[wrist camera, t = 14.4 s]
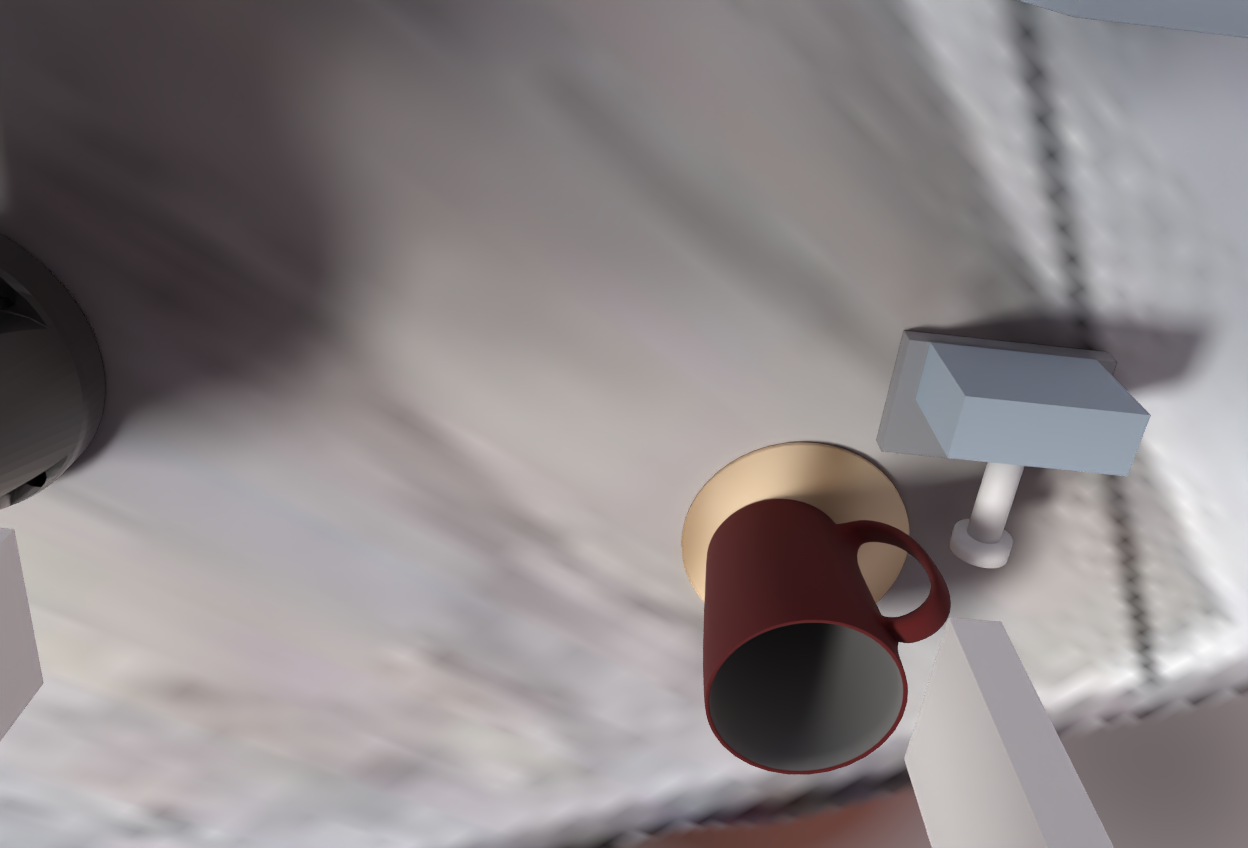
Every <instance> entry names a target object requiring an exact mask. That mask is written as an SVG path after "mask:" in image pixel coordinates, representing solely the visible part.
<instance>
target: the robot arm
mask: <svg viewBox="0 0 1248 848" xmlns="http://www.w3.org/2000/svg"><path fill="white" fill-rule="evenodd" d="M104 402H105V376H104V369H103V363H102V359H101V355H100V351H99V348H98V345H97V343H96V340H95V337H94V335H93V333H92V330H91V328H90V326H89V324H88V322H87V320H86V319H85V317H84V315H83V313H82V312H81V310H80V308H79V307H78V305H77V304H76V302H75V301H74V300H73V298H72V297H71V296H70V294H69V293H68V292H67V290H66V289H65V288H64V287H63V286H62V284H61V283H60V282H59V281H58V280H57V279H56V278H55V277H54V276H53V275H52V274H51V273H50V271H49V270H48V269H46V268H45V267H44V266H43V265H42V264H41V263H40V262H39V261H38V260H37V259H35V258H34V257H33V256H32V255H30V254H29V253H28V252H27V251H25V250H24V249H22V248H21V247H20V246H18V245H17V244H16V243H14V242H12V241H11V240H9V239H8V238H6V237H5V236H3V235H1V234H0V509H3V508H6V507H8V506H11V505H13V504H16V503H19V502H21V501H23V500H25V499H28V498H30V497H32V496H34V495H35V494H37V493H39V492H40V491H42V490H43V489H45V488H46V487H48V486H49V485H50V484H52V483H53V482H54V481H55V480H56V479H58V478H59V477H60V476H61V475H62V474H63V473H64V472H65V471H66V470H67V469H68V468H69V467H70V466H71V465H72V464H73V463H74V461H75V460H76V459H77V458H78V457H79V456H80V455H81V454H82V453H83V452H84V451H85V449H86V448H87V447H88V445H89V444H90V442H91V441H92V439H93V437H94V435H95V433H96V431H97V429H98V426H99V424H100V421H101V417H102V413H103V408H104ZM42 684H43V678H42V672H41V667H40V662H39V657H38V651H37V646H36V641H35V636H34V630H33V625H32V620H31V615H30V610H29V604H28V599H27V594H26V589H25V583H24V578H23V573H22V568H21V562H20V557H19V552H18V547H17V541H16V536H15V531H14V529H8V528H0V741H1V740H2V738H3V737H4V736H5V734H6V733H7V732H8V730H9V729H10V727H11V726H12V725H13V723H14V722H15V721H16V719H17V718H18V717H19V715H20V714H21V713H22V711H23V710H24V709H25V707H26V706H27V705H28V703H29V702H30V701H31V699H32V698H33V696H34V695H35V694H36V692H37V691H38V690H39V688H40V687H41V686H42ZM904 760H905V763H906V766H907V769H908V772H909V776H910V779H911V782H912V785H913V789H914V792H915V795H916V798H917V801H918V805H919V808H920V811H921V814H922V818H923V821H924V824H925V827H926V831H927V834H928V837H929V840H930V844H931V847H932V848H1114V847H1113V845H1112V843H1111V841H1110V839H1109V837H1108V835H1107V833H1106V831H1105V829H1104V827H1103V825H1102V823H1101V821H1100V819H1099V817H1098V815H1097V813H1096V811H1095V809H1094V807H1093V805H1092V803H1091V801H1090V799H1089V797H1088V795H1087V793H1086V791H1085V789H1084V787H1083V785H1082V783H1081V781H1080V779H1079V777H1078V775H1077V773H1076V771H1075V769H1074V767H1073V765H1072V763H1071V761H1070V759H1069V757H1068V755H1067V753H1066V751H1065V749H1064V747H1063V745H1062V743H1061V741H1060V739H1059V737H1058V735H1057V733H1056V731H1055V729H1054V727H1053V725H1052V723H1051V721H1050V719H1049V717H1048V715H1047V713H1046V711H1045V709H1044V707H1043V705H1042V703H1041V701H1040V699H1039V697H1038V695H1037V693H1036V691H1035V689H1034V687H1033V685H1032V683H1031V681H1030V679H1029V677H1028V675H1027V673H1026V671H1025V668H1024V666H1023V664H1022V662H1021V660H1020V658H1019V656H1018V654H1017V652H1016V650H1015V648H1014V646H1013V644H1012V642H1011V640H1010V638H1009V636H1008V634H1007V632H1006V630H1005V628H1004V626H1003V624H1002V622H996V621H986V620H975V619H964V618H954V617H949V618H948V621H947V625H946V628H945V631H944V634H943V637H942V640H941V644H940V647H939V650H938V653H937V656H936V660H935V663H934V666H933V669H932V672H931V675H930V679H929V682H928V685H927V688H926V691H925V695H924V698H923V701H922V704H921V707H920V710H919V714H918V717H917V720H916V723H915V726H914V729H913V733H912V736H911V739H910V742H909V745H908V749H907V752H906V755H905V758H904Z"/></svg>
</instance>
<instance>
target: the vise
mask: <svg viewBox="0 0 1248 848" xmlns="http://www.w3.org/2000/svg"><path fill="white" fill-rule="evenodd" d="M1016 1H1022V2H1025V3H1029V4H1032V5H1036V6H1039V7H1042V8H1046V9H1049V10H1052V11H1056V12H1059V13H1062V14H1066V15H1069V16H1073V17H1078V18H1086V19H1094V20H1103V21H1111V22H1120V23H1128V24H1136V25H1145V26H1153V27H1161V28H1170V29H1178V30H1187V31H1195V32H1203V33H1212V34H1220V35H1228V36H1237V37H1245V38H1248V0H1016ZM1116 364H1117V361H1116V360H1115V359H1114V358H1113V357H1112V356H1111V355H1110V354H1109V353H1108V352H1103V351H1093V350H1084V349H1074V348H1065V347H1055V346H1046V345H1037V344H1027V343H1018V342H1008V341H999V340H989V339H980V338H970V337H961V336H951V335H942V334H932V333H923V332H914V331H903V335H902V339H901V343H900V347H899V351H898V355H897V359H896V363H895V367H894V371H893V375H892V379H891V383H890V387H889V391H888V395H887V399H886V403H885V407H884V411H883V415H882V419H881V423H880V427H879V431H878V435H877V439H876V440H877V443H878V445H879V447H880V450H881V451H882V452H891V453H901V454H911V455H921V456H931V457H941V458H951V459H961V460H971V461H981V462H988V463H987V466H986V469H985V472H984V476H983V479H982V482H981V485H980V489H979V492H978V495H977V498H976V501H975V505H974V508H973V511H972V514H971V518H970V519H963V520H960V521H958V522H957V523H956V524H955V526H954V529H953V532H952V535H951V539H950V542H949V547H950V550H951V551H952V552H953V554H954V555H955V556H957V557H958V558H959V559H961V560H963V561H964V562H966V563H969V564H971V565H974V566H978V567H982V568H999V567H1002V566H1004V565H1005V564H1006V563H1007V560H1008V557H1009V554H1010V551H1011V549H1012V546H1013V539H1012V537H1011V535H1010V534H1009V533H1008V532H1007V531H1006V530H1004V527H1005V524H1006V521H1007V518H1008V515H1009V512H1010V509H1011V506H1012V503H1013V500H1014V497H1015V494H1016V491H1017V488H1018V485H1019V482H1020V478H1021V475H1022V472H1023V469H1024V466H1031V467H1041V468H1050V469H1060V470H1070V471H1081V472H1091V473H1101V474H1111V475H1121V476H1128V473H1129V471H1130V468H1131V465H1132V463H1133V460H1134V457H1135V455H1136V452H1137V450H1138V447H1139V444H1140V442H1141V439H1142V437H1143V434H1144V431H1145V429H1146V426H1147V424H1148V421H1149V418H1150V416H1151V415H1150V414H1149V413H1148V412H1147V411H1146V410H1145V409H1144V408H1143V407H1142V406H1141V405H1140V404H1139V403H1138V402H1137V401H1136V400H1135V399H1134V398H1133V397H1132V396H1131V395H1130V394H1129V393H1128V392H1127V390H1126V389H1125V388H1124V387H1123V386H1122V385H1121V384H1120V383H1119V382H1118V381H1117V380H1116V379H1115V378H1114V377H1113V376H1112V375H1113V372H1114V370H1115V367H1116Z"/></svg>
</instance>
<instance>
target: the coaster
mask: <svg viewBox="0 0 1248 848" xmlns="http://www.w3.org/2000/svg"><path fill="white" fill-rule="evenodd" d="M770 499H790V500H797V501H801V502H804V503H807V504H810V505H812V506H814V507H816V508H818V509H820V510H821V511H823V512H824V513H825V514H827V515H828V516H829V517H830V518H831V519H832V520H833V521H834V522H835V524H841V523H847V522H852V521H858V520H871V521H877V522H882V523H885V524H888V525H891V526H893V527H895V528H897V529H899V530H901V531H903V532H904V533H906V534H907V535H909V534H910V530H909V522H908V517H907V513H906V510H905V506H904V504H903V502H902V500H901V498H900V495H899V493H898V491H897V490H896V488H895V487H894V485H893V484H892V482H891V481H890V480H889V479H888V478H887V476H886V475H885V474H884V473H883V472H882V471H881V470H880V469H878V468H877V467H876V466H875V465H873V464H872V463H871V462H869V461H868V460H866V459H864V458H863V457H861V456H859V455H857V454H855V453H853V452H850V451H848V450H846V449H842V448H839V447H835V446H832V445H827V444H820V443H809V442H795V443H784V444H778V445H773V446H768V447H765V448H762V449H759V450H756V451H753V452H751V453H748V454H746V455H744V456H742V457H740V458H738V459H736V460H735V461H733V462H731V463H729V464H728V465H726V466H725V467H724V468H723V469H721V470H720V471H719V472H717V473H716V474H715V475H714V476H713V477H712V478H711V479H710V480H709V481H708V482H707V483H706V484H705V485H704V486H703V488H702V489H701V490H700V492H699V493H698V494H697V496H696V497H695V499H694V501H693V503H692V504H691V506H690V508H689V511H688V513H687V516H686V519H685V523H684V527H683V532H682V554H683V562H684V566H685V570H686V573H687V575H688V578H689V580H690V583H691V584H692V586H693V588H694V589H695V591H696V593H697V594H698V595H699V596H700V598H701V599H702V600H703V601H704V602H705V579H706V560H707V551H708V547H709V544H710V541H711V539H712V537H713V535H714V533H715V531H716V530H717V528H718V527H719V526H720V525H721V524H722V523H723V522H724V521H725V520H726V519H727V518H728V517H729V516H730V515H732V514H733V513H735V512H736V511H738V510H739V509H741V508H743V507H745V506H748V505H750V504H753V503H756V502H759V501H764V500H770ZM906 556H907V552H906V551H904V550H903V549H901V548H899V547H896V546H893V545H890V544H886V543H880V542H868V543H864V544H862V545H861V546H860V548H859V550H858V554H857V560H858V565H859V568H860V571H861V573H862V575H863V578H864V580H865V582H866V584H867V586H868V588H869V590H870V592H871V594H872V596H873V598H874V601H875V603H876V602H878V601H879V600H880V599H881V598H882V597H883V596H884V594H885V593H886V592H887V591H888V590H889V589H890V587H891V586H892V585H893V583H894V582H895V580H896V579H897V577H898V575H899V573H900V571H901V569H902V567H903V565H904V562H905V559H906Z"/></svg>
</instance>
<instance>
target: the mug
mask: <svg viewBox="0 0 1248 848" xmlns="http://www.w3.org/2000/svg"><path fill="white" fill-rule="evenodd" d="M868 542H880V543H886V544H890V545H893V546H896V547H899V548H901V549H903V550H904V551H906V552H908V553H909V554H911V555H912V556H913V557H915V558H916V559H917V560H918V561H919V562H920V563H921V564H922V566H923V567H924V568H925V570H926V572H927V574H928V576H929V578H930V582H931V590H930V594H929V596H928V598H927V599H926V601H925V602H924V603H923V604H922V605H921V606H920V607H918V608H917V609H916V610H914V611H912V612H910V613H908V614H906V615H903V616H900V617H884V616H882V615H881V613H880V611H879V609H878V607H877V605H876V603H875V601H874V598H873V596H872V594H871V592H870V590H869V588H868V586H867V584H866V582H865V580H864V578H863V575H862V573H861V571H860V568H859V565H858V560H857V554H858V550H859V548H860V546H861V545H862V544H864V543H868ZM950 607H951V602H950V595H949V591H948V588H947V585H946V583H945V581H944V579H943V577H942V575H941V573H940V572H939V570H938V568H937V567H936V565H935V564H934V562H933V561H932V560H931V558H930V557H929V556H928V554H927V553H926V552H925V551H924V549H923V548H922V547H921V546H920V545H919V544H918V543H917V542H916V541H915V540H914V539H912V538H911V537H910V536H909V535H907V534H906V533H904V532H903V531H901V530H899V529H897V528H895V527H893V526H891V525H888V524H885V523H882V522H877V521H871V520H858V521H852V522H847V523H841V524H835V522H834V521H833V520H832V519H831V518H830V517H829V516H828V515H827V514H825V513H824V512H823V511H821V510H820V509H818V508H816V507H814V506H812V505H810V504H807V503H804V502H801V501H797V500H790V499H770V500H764V501H759V502H756V503H753V504H750V505H748V506H745V507H743V508H741V509H739V510H738V511H736V512H735V513H733V514H732V515H730V516H729V517H728V518H727V519H726V520H725V521H724V522H723V523H722V524H721V525H720V526H719V527H718V528H717V530H716V531H715V533H714V535H713V537H712V539H711V541H710V544H709V547H708V551H707V560H706V579H705V605H704V639H703V676H704V699H705V708H706V715H707V719H708V722H709V725H710V727H711V729H712V731H713V733H714V734H715V736H716V737H717V739H718V740H719V741H720V743H721V744H722V745H723V746H724V747H725V748H726V749H727V750H728V751H730V752H731V753H732V754H733V755H734V756H736V757H738V758H739V759H741V760H743V761H745V762H747V763H748V764H750V765H753V766H755V767H758V768H761V769H764V770H767V771H772V772H778V773H784V774H814V773H821V772H828V771H832V770H835V769H838V768H841V767H844V766H848V765H850V764H852V763H854V762H856V761H858V760H860V759H862V758H864V757H866V756H867V755H869V754H870V753H871V752H873V751H874V750H876V749H877V748H878V747H880V746H881V745H882V744H883V743H884V742H885V741H886V740H887V739H888V738H889V736H890V735H891V734H892V733H893V732H894V730H895V729H896V727H897V726H898V724H899V722H900V720H901V719H902V717H903V714H904V711H905V707H906V703H907V695H908V685H907V680H906V675H905V672H904V669H903V666H902V663H901V660H900V657H899V654H898V642H903V643H913V642H917V641H920V640H923V639H925V638H927V637H929V636H931V635H933V634H934V633H935V632H937V631H938V630H939V629H940V628H941V627H942V626H943V625H944V623H945V622H946V620H947V618H948V616H949V613H950Z"/></svg>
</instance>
